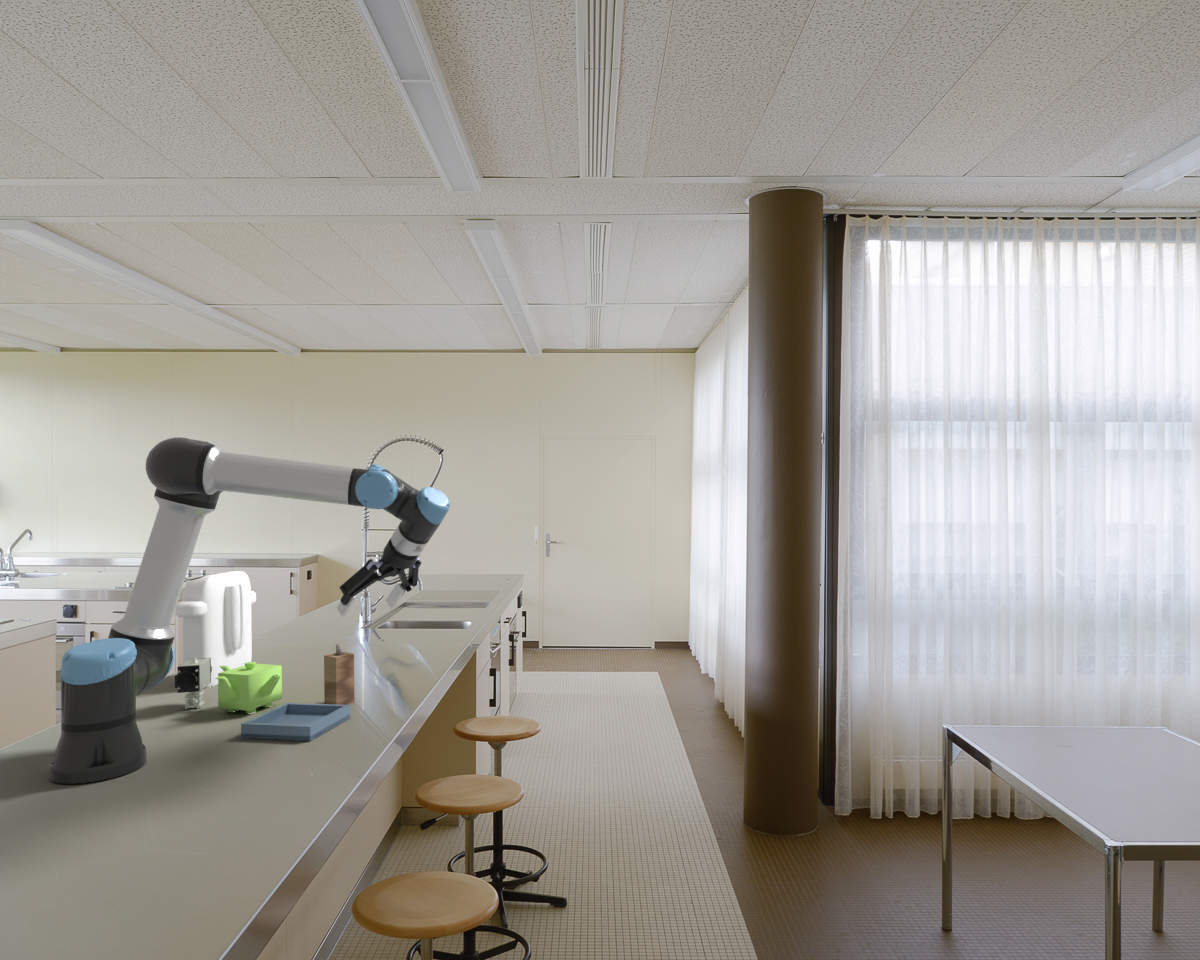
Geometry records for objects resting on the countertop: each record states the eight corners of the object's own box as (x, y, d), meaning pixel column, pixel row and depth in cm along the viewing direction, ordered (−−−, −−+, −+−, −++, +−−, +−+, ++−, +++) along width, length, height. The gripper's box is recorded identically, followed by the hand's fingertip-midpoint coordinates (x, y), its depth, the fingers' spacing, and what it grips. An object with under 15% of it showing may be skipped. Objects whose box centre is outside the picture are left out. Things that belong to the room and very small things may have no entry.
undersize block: (336, 707, 177) (335, 647, 177) (324, 704, 180) (323, 645, 180) (354, 702, 181) (353, 643, 181) (342, 699, 184) (341, 641, 184)
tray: (310, 741, 152) (310, 726, 152) (241, 738, 155) (241, 723, 155) (350, 718, 168) (350, 705, 168) (286, 715, 171) (286, 702, 171)
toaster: (208, 692, 193) (207, 578, 194) (170, 691, 195) (169, 578, 196) (270, 668, 220) (269, 568, 221) (236, 668, 222) (235, 568, 223)
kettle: (215, 721, 168) (215, 672, 168) (214, 707, 180) (214, 660, 180) (286, 711, 175) (286, 664, 175) (281, 697, 187) (281, 653, 187)
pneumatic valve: (212, 699, 186) (212, 652, 187) (197, 712, 175) (196, 662, 175) (189, 701, 185) (188, 653, 186) (171, 714, 174) (171, 663, 174)
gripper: (366, 562, 155) (325, 628, 163) (455, 553, 175) (415, 612, 183) (350, 537, 158) (311, 602, 166) (439, 531, 178) (401, 590, 187)
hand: (365, 608), depth 175 cm, fingers open, 13 cm apart
